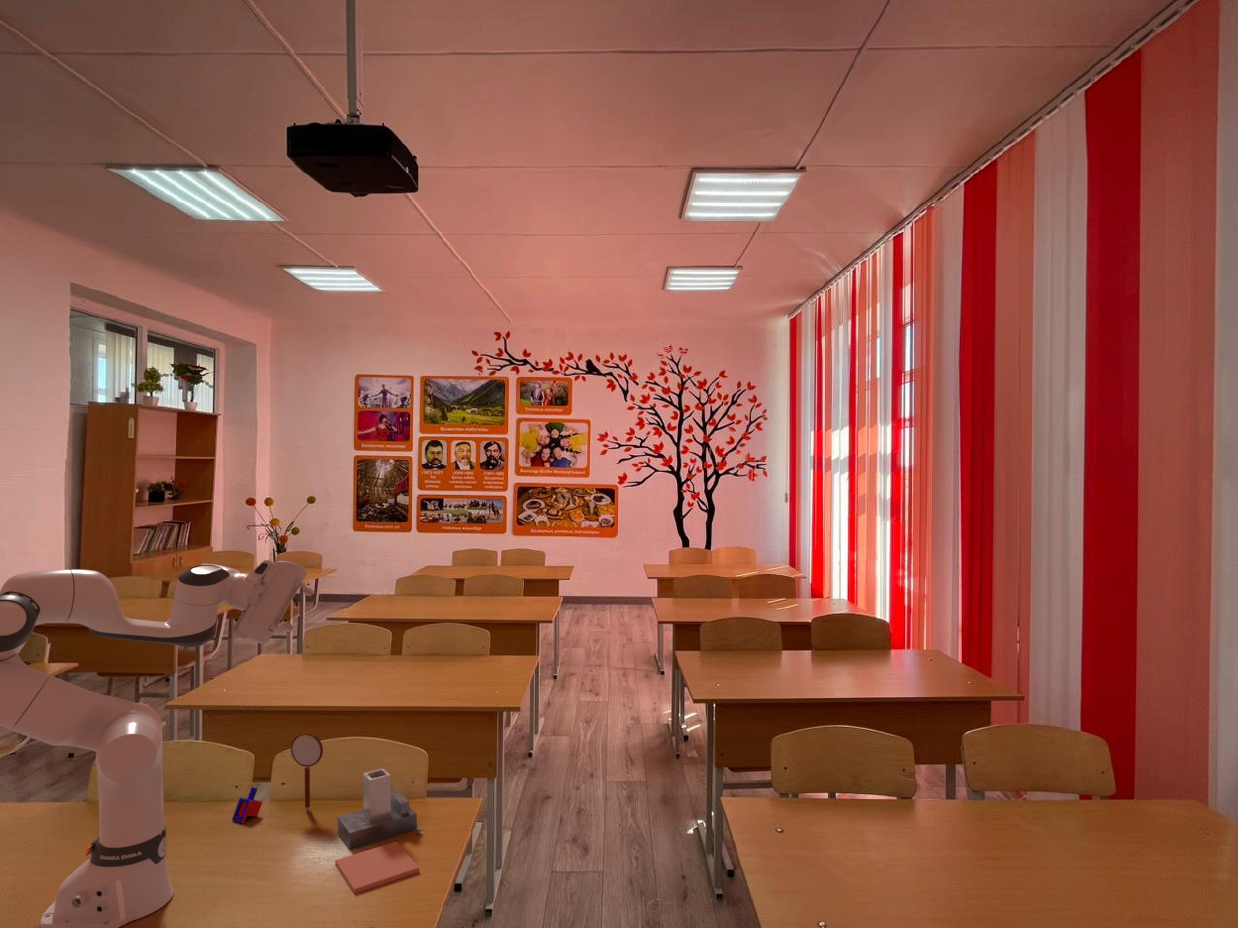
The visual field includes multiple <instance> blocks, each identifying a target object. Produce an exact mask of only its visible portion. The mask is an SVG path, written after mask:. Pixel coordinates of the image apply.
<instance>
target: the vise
mask: <svg viewBox="0 0 1238 928" xmlns="http://www.w3.org/2000/svg"><path fill="white" fill-rule="evenodd" d="M374 778H376V777H374ZM417 817H418V815H417V813H416V811H414V809H412V807H411V806H410V801H409V800H408V799H407V798H406V797H405V796H404V795H403V794H402V793H401V792H400V790H397V789H396V790H392V791H391V816H390V817H387V818H383V819H379V820H376V821H372V822H370V821H369V820H368V819H367V818H366V817H365V815H364V809H360V810H357V811H353V812H349V813H346V814H342V815H338V816H337V834H338V836H339V838H340V839H342V842H343V843H344V844H345V846H346V847H347V849H348V850H349V851H353V850H355V849H359V848H363V847H366V846H369V845H372V844H376V843H378V842H383V841H385V839H386V840H388V838H389V839H392V838H395V837H394V836H396V837H398V835H399V836H402V835H405V833H406V834H408V832H409V833H412V832H415V831H414V830H416V831H417V830H418V827H417V826H418V824H417V823H418V821H417V819H418V818H417ZM411 831H412V832H411ZM401 834H402V835H401ZM391 837H392V838H391Z"/></svg>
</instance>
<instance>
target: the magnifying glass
mask: <svg viewBox="0 0 1238 928" xmlns="http://www.w3.org/2000/svg"><path fill="white" fill-rule="evenodd" d="M290 754H291V756H292V758H293V760H294V761H295V762H296V764H298V765H300V766H302V767H305V768H304V808H305V809H306V811H309V810H310V806H311V786H310V785H311V784H310V783H311V781H310V780H311V779H310V778H311V774H310V773H311V771H310V770H311V767H313V766H314V765H317V764H318V763H319V762H320V760H321V759H322V757H323V754H324V747H323V743H322V741H321V740H320V738H318V736H317V735H315V734H313V733H310V732H303V733H300V734H297V735H296V737H294V739H293V741H292V742H291V747H290Z"/></svg>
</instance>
